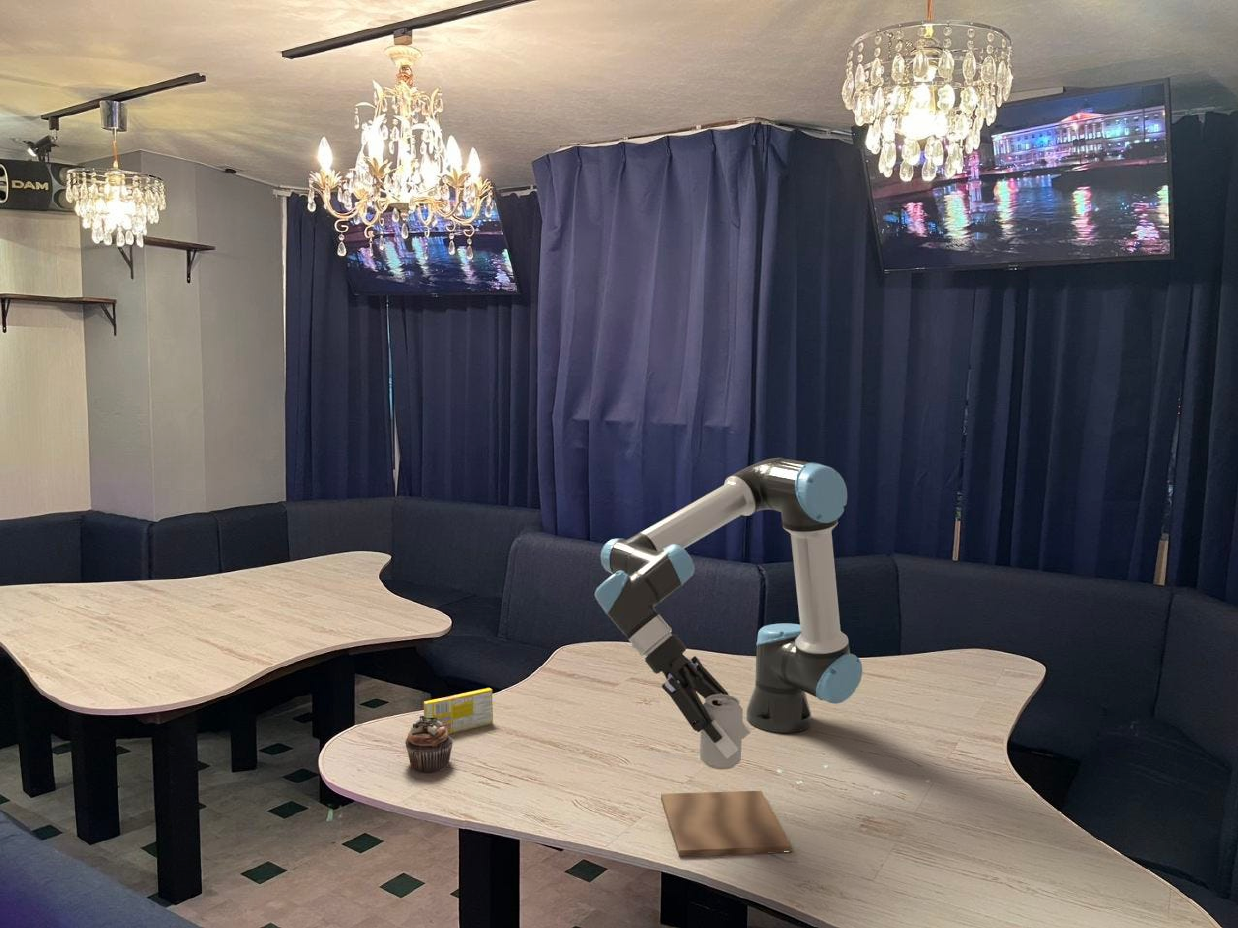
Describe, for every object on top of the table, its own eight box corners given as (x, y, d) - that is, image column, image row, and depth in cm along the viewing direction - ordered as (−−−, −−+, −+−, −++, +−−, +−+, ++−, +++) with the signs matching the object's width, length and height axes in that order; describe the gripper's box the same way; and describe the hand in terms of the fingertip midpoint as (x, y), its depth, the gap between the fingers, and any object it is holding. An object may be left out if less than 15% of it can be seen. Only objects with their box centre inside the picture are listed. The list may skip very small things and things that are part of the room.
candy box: (489, 720, 211) (489, 686, 210) (493, 724, 210) (493, 689, 209) (423, 735, 203) (423, 700, 202) (426, 739, 201) (426, 703, 200)
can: (696, 753, 169) (698, 691, 168) (736, 752, 170) (738, 691, 168) (703, 772, 162) (705, 707, 160) (744, 771, 163) (747, 707, 161)
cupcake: (450, 774, 184) (450, 727, 183) (402, 775, 184) (401, 727, 182) (455, 753, 194) (455, 709, 193) (409, 754, 193) (409, 709, 192)
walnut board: (761, 796, 178) (761, 790, 178) (791, 852, 159) (791, 845, 159) (660, 799, 176) (661, 793, 176) (678, 856, 156) (679, 850, 156)
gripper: (664, 640, 179) (740, 734, 175) (623, 674, 161) (707, 779, 156) (690, 618, 176) (768, 713, 172) (651, 650, 158) (737, 756, 153)
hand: (739, 744), depth 164 cm, fingers closed on can, 7 cm apart
